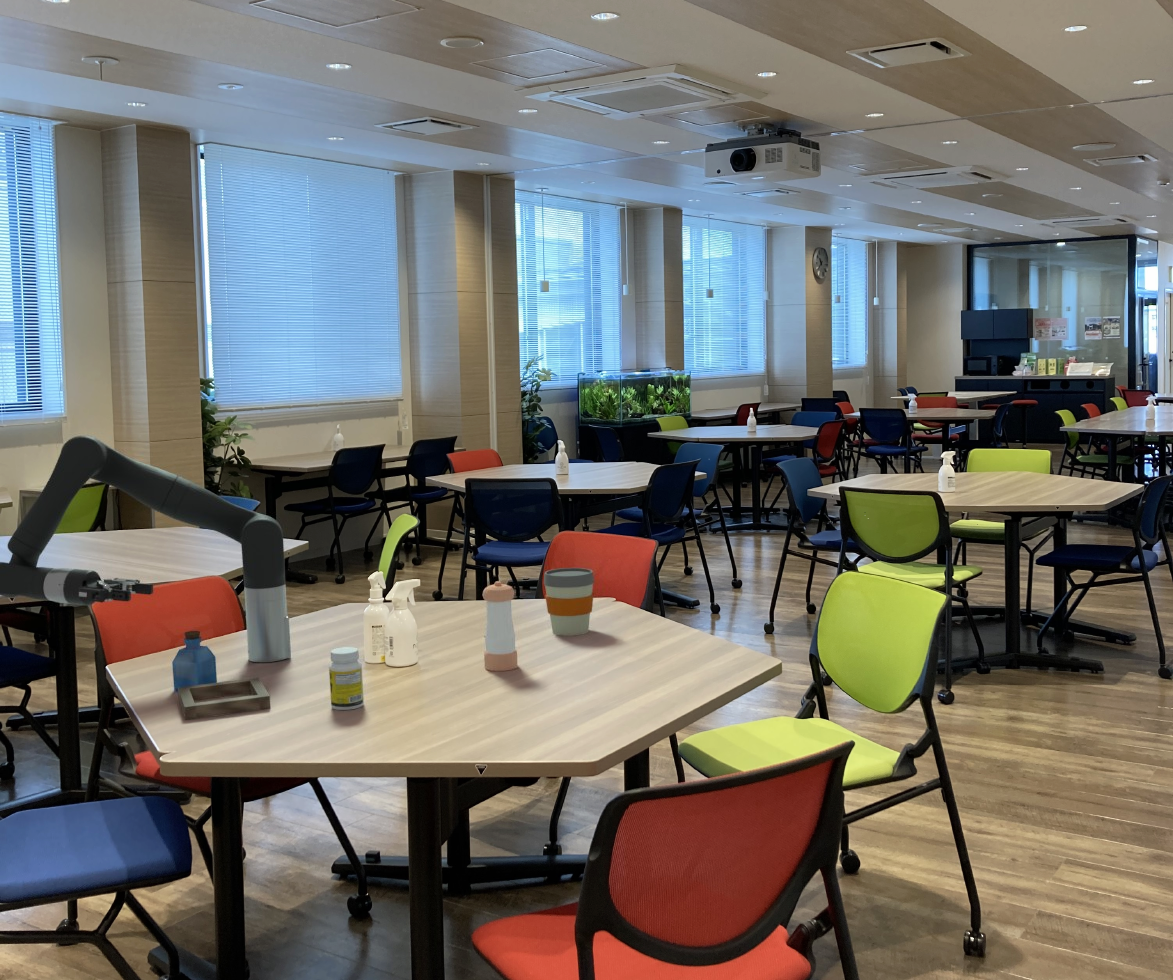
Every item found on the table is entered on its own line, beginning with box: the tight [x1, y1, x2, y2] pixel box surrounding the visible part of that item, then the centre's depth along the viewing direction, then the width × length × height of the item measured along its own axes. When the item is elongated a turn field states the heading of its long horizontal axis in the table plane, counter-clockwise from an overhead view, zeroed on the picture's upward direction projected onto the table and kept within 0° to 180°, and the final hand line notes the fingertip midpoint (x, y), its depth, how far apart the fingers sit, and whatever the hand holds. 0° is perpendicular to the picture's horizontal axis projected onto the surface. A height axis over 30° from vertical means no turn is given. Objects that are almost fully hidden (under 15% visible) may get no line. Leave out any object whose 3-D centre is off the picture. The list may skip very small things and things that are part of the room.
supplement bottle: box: [328, 646, 364, 711], centre depth 232 cm, size 6×6×11 cm
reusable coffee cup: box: [543, 567, 595, 636], centre depth 292 cm, size 13×13×15 cm
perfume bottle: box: [171, 630, 218, 692], centre depth 249 cm, size 6×6×12 cm
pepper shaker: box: [482, 580, 519, 672], centre depth 259 cm, size 7×7×19 cm
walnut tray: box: [177, 677, 271, 721], centre depth 237 cm, size 16×16×2 cm
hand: (141, 592), depth 250 cm, fingers open, 8 cm apart
